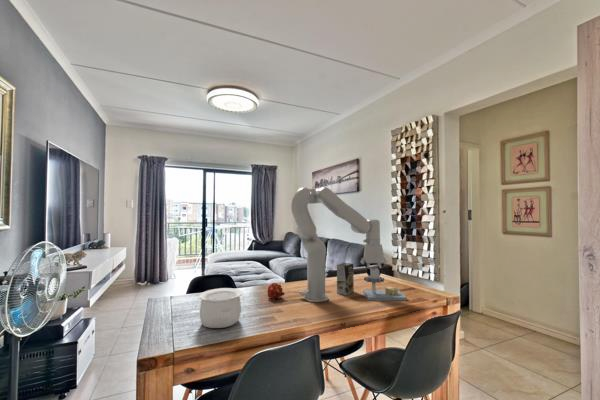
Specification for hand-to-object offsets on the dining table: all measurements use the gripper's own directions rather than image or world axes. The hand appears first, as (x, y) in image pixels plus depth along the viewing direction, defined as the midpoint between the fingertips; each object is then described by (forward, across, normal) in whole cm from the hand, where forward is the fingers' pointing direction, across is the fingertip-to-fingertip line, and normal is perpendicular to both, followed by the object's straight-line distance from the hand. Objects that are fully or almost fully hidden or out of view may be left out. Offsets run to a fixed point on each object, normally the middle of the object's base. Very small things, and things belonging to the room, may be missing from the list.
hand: (373, 275), depth 154 cm
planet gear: (+3, 0, 0) cm, 3 cm away
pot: (+11, -73, -38) cm, 83 cm away
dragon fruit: (+11, -54, -4) cm, 55 cm away
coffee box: (+12, -15, +7) cm, 20 cm away
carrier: (+12, +5, 0) cm, 13 cm away
